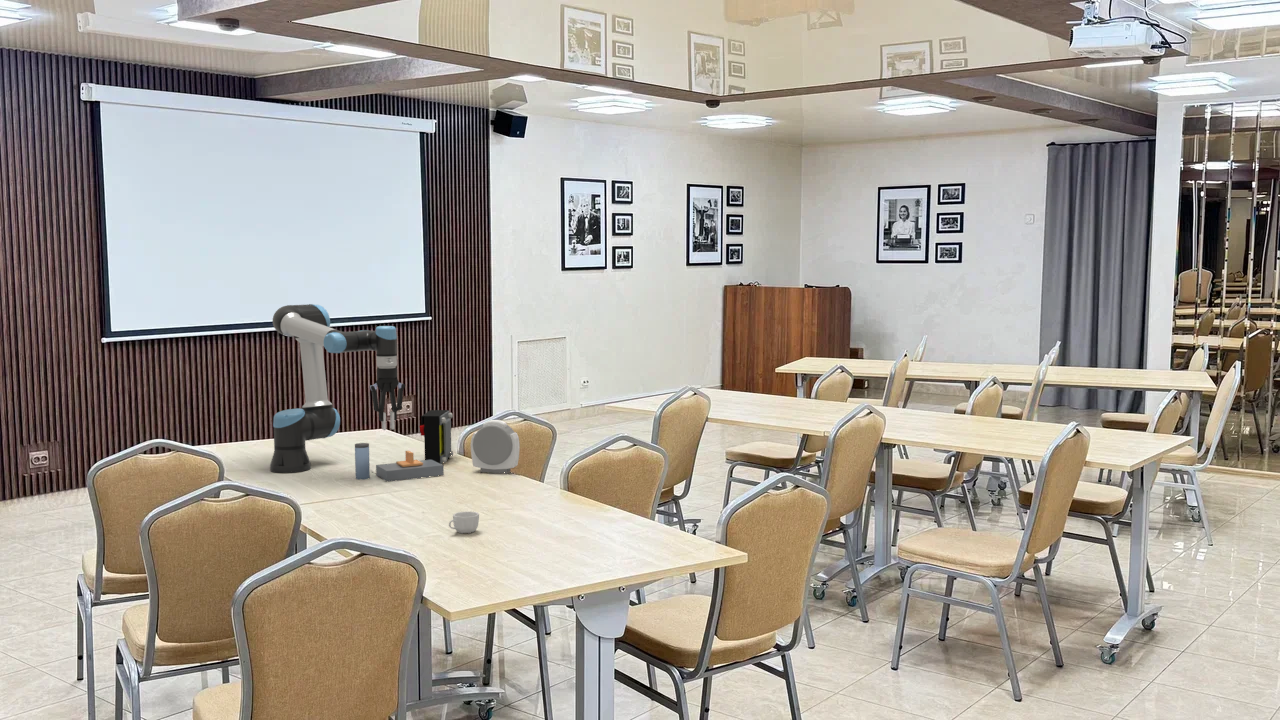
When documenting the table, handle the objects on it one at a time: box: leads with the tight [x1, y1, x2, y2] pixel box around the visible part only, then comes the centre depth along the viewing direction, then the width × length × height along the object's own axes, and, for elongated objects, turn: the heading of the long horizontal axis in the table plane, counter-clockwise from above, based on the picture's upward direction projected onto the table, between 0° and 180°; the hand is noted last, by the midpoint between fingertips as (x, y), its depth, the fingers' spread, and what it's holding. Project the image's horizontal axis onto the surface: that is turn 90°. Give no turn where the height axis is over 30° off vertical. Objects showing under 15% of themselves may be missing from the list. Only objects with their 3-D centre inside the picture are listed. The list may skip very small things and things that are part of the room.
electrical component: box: [419, 409, 454, 465], centre depth 429 cm, size 18×10×20 cm, turn 179°
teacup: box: [448, 510, 480, 534], centre depth 314 cm, size 10×8×5 cm
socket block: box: [375, 459, 445, 482], centre depth 400 cm, size 14×22×4 cm, turn 120°
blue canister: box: [354, 442, 371, 480], centre depth 395 cm, size 5×5×13 cm
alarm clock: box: [470, 419, 521, 475], centre depth 406 cm, size 18×8×20 cm, turn 80°
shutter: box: [395, 450, 423, 467], centre depth 400 cm, size 8×8×5 cm
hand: (388, 429), depth 395 cm, fingers open, 3 cm apart
